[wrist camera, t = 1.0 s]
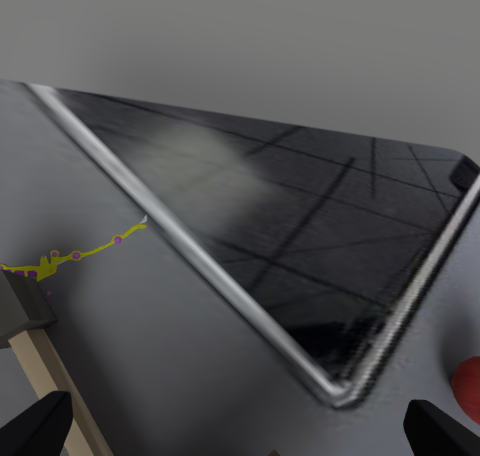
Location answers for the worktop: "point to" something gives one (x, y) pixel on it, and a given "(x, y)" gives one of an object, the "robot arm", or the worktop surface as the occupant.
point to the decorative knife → (63, 258)
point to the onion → (468, 387)
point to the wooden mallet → (43, 357)
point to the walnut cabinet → (273, 453)
